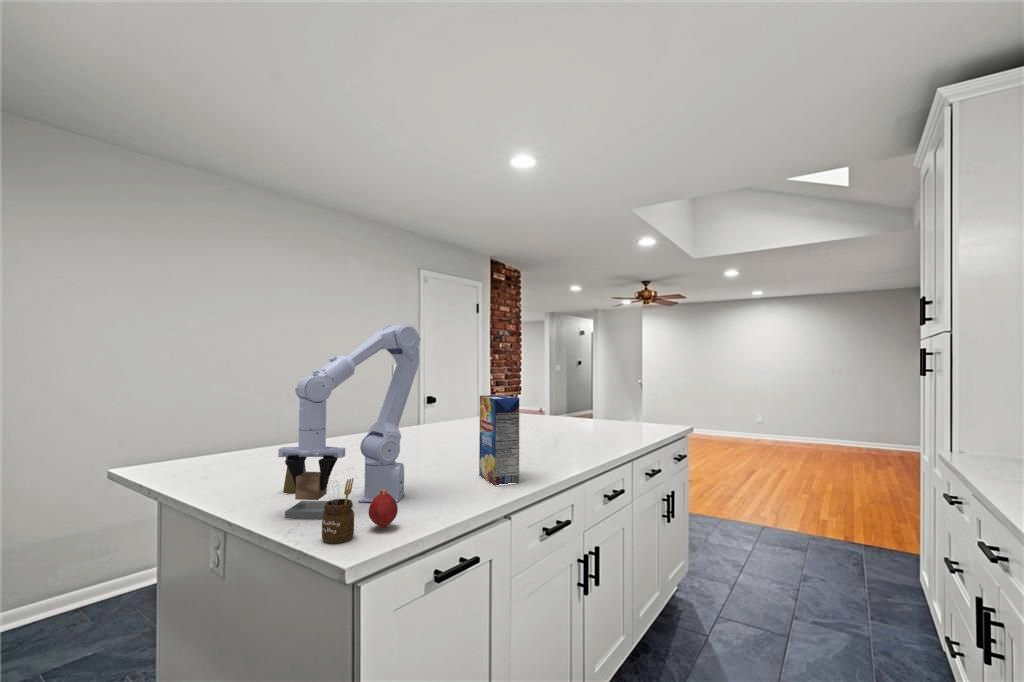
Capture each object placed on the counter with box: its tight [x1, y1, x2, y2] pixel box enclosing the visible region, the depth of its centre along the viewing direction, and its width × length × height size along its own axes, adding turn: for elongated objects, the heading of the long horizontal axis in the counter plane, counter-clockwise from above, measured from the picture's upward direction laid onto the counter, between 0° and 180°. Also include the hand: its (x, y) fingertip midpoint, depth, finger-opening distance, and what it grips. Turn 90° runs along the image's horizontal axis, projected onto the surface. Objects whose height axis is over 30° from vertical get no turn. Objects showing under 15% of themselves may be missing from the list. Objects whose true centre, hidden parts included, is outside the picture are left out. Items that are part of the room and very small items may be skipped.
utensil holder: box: [321, 477, 355, 545], centre depth 94 cm, size 6×6×12 cm
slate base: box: [284, 500, 329, 520], centre depth 109 cm, size 8×8×2 cm
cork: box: [282, 457, 308, 495], centre depth 128 cm, size 6×6×11 cm
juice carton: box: [478, 394, 520, 486], centre depth 140 cm, size 12×8×24 cm, turn 25°
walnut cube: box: [294, 471, 328, 501], centre depth 109 cm, size 5×5×5 cm
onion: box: [368, 490, 398, 529], centre depth 100 cm, size 6×6×8 cm
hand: (311, 489), depth 109 cm, fingers closed on walnut cube, 5 cm apart
